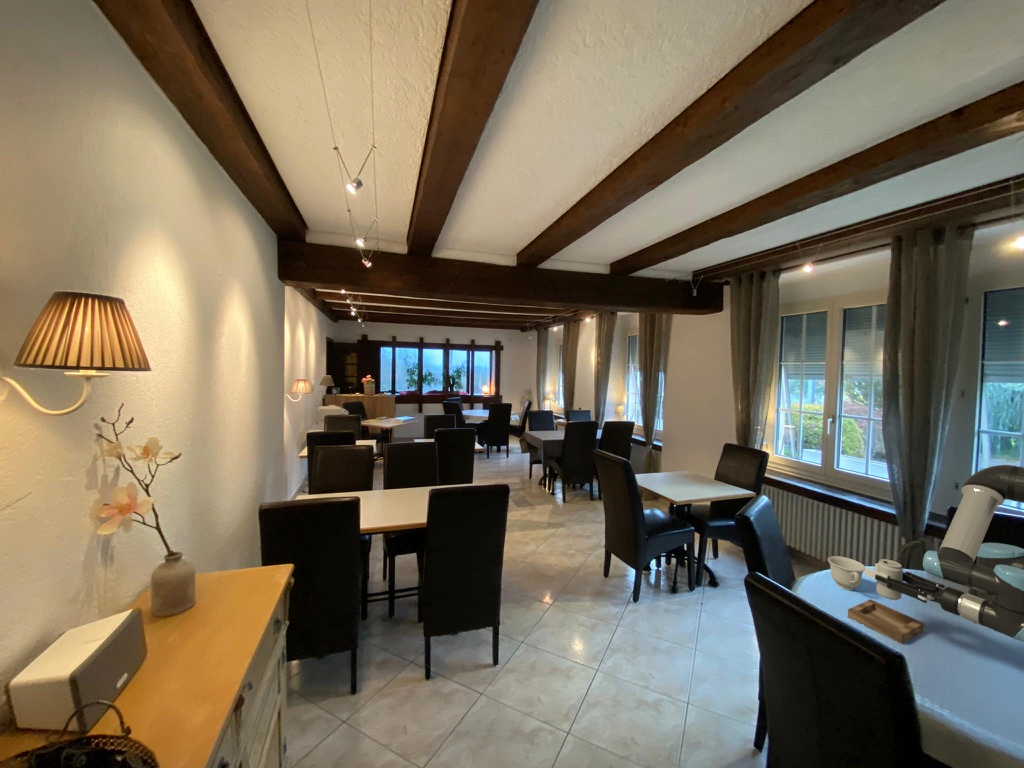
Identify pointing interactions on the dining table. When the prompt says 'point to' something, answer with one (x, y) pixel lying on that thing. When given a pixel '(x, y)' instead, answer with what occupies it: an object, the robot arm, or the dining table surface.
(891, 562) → the beverage can
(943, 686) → the dining table surface
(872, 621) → the tray
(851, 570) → the teacup
